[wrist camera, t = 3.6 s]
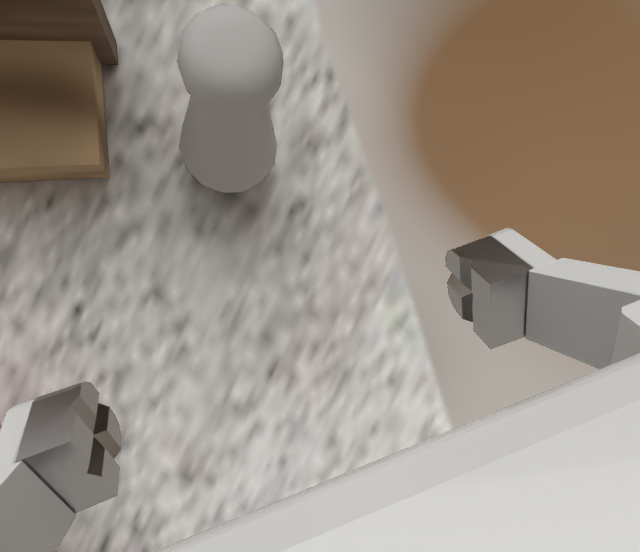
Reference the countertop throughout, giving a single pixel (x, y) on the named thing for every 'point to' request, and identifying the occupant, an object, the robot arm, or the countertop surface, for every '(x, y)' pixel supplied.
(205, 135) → the salt shaker
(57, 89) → the cleat board
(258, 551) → the robot arm
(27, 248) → the countertop surface
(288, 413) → the countertop surface
